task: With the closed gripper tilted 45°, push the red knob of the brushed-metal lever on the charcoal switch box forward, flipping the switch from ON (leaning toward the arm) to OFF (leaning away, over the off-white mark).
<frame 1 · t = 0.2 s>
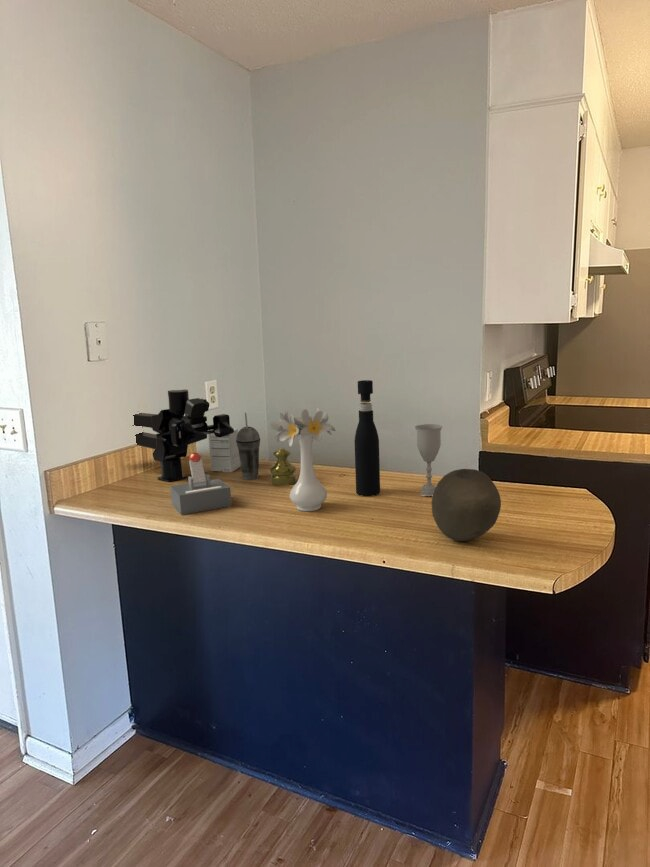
hand: (220, 433, 171), 17 cm above the countertop, tool horizontal, fingers open, 9 cm apart
dark brown ball: (465, 541, 131), on the countertop
flower vase: (305, 508, 157), on the countertop
beverage cup: (250, 478, 188), on the countertop
switch lever: (196, 467, 162), point 10 cm above the countertop, hinge at -25.0°
black bottle: (368, 493, 168), on the countertop
salt shaker: (283, 483, 182), on the countertop
switch box: (201, 505, 163), on the countertop
supplement box: (226, 469, 200), on the countertop
chalice: (429, 494, 164), on the countertop
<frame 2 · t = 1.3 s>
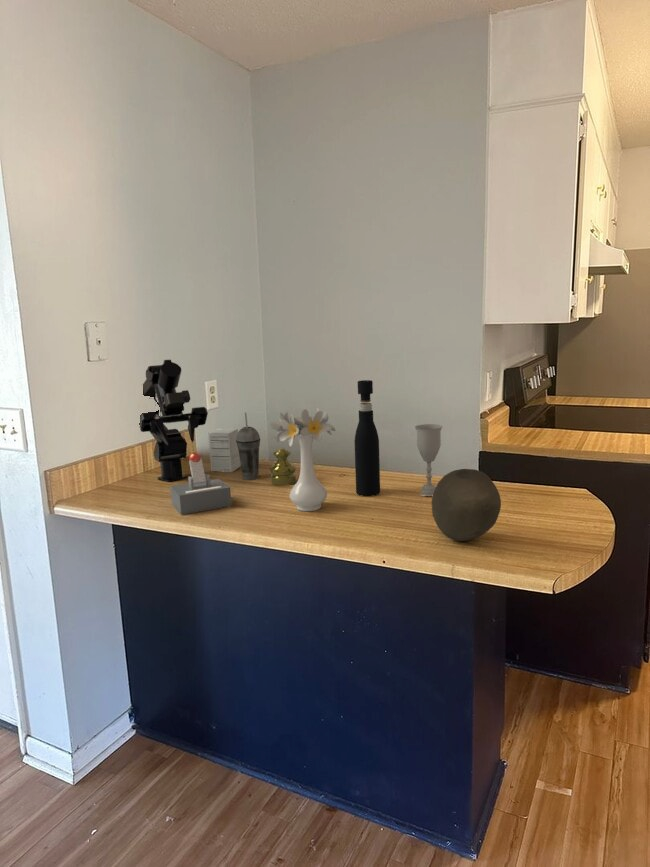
hand: (180, 442, 176), 14 cm above the countertop, tool tilted 45°, fingers open, 7 cm apart
nothing on the countertop moved.
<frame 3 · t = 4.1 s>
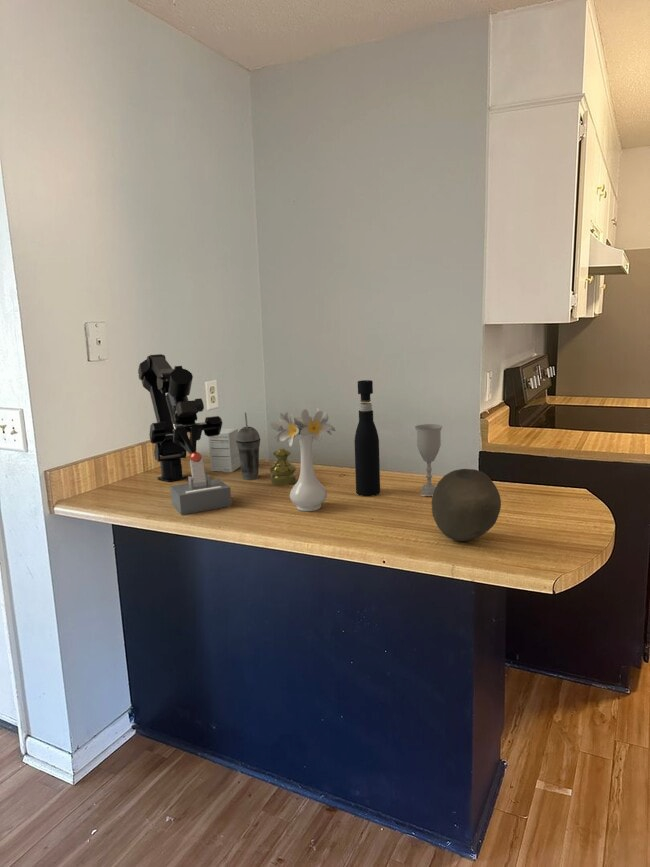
hand: (193, 454, 163), 13 cm above the countertop, tool tilted 45°, fingers closed, pressing on switch lever
switch lever: (197, 467, 162), point 10 cm above the countertop, hinge at -17.4°, touching gripper
everything else where it was.
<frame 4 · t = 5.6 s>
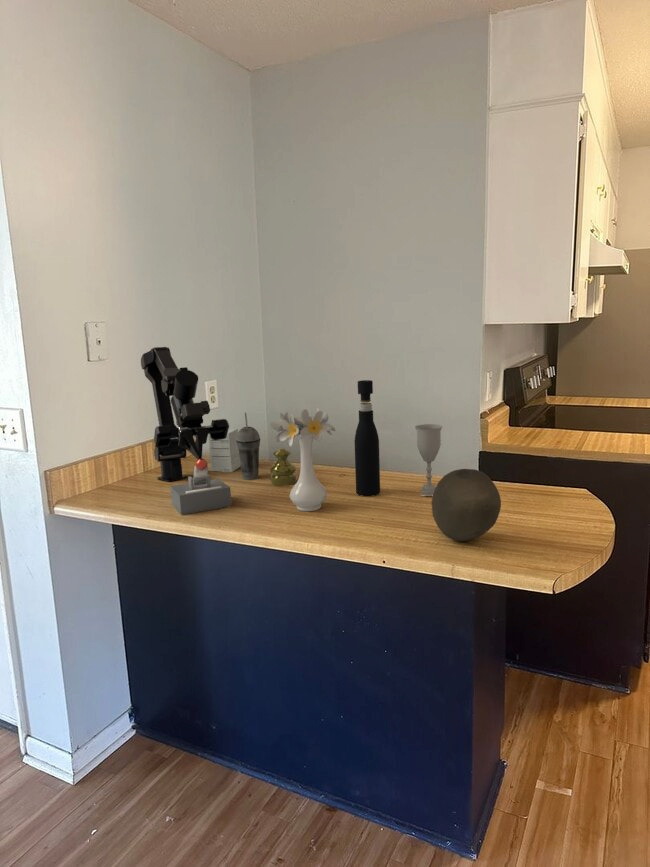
hand: (200, 458, 158), 13 cm above the countertop, tool tilted 45°, fingers closed, pressing on switch lever
switch lever: (200, 471, 159), point 10 cm above the countertop, hinge at 31.4°, touching gripper
everything else where it was.
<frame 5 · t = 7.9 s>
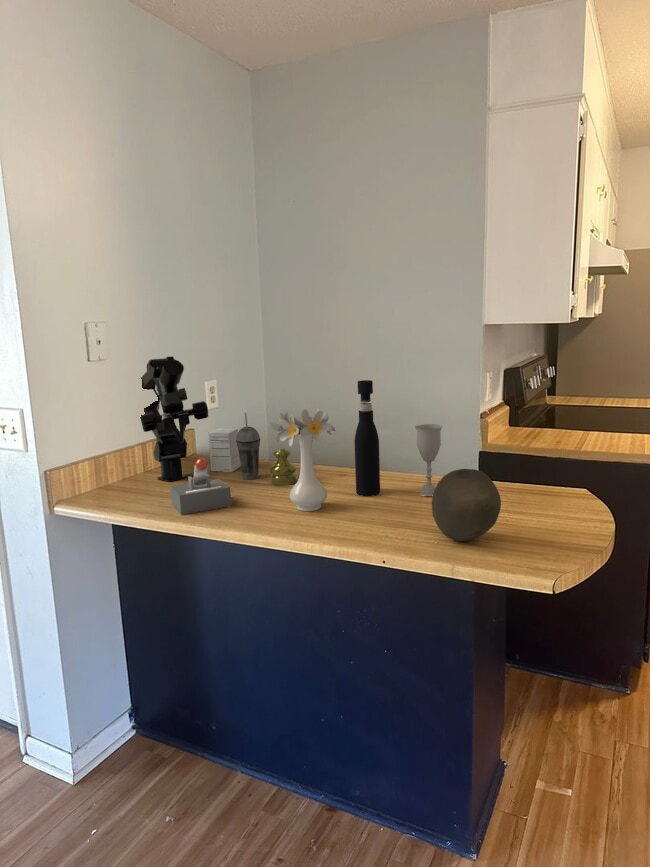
hand: (181, 442, 176), 14 cm above the countertop, tool tilted 40°, fingers closed
switch lever: (200, 471, 159), point 10 cm above the countertop, hinge at 31.4°
everything else where it was.
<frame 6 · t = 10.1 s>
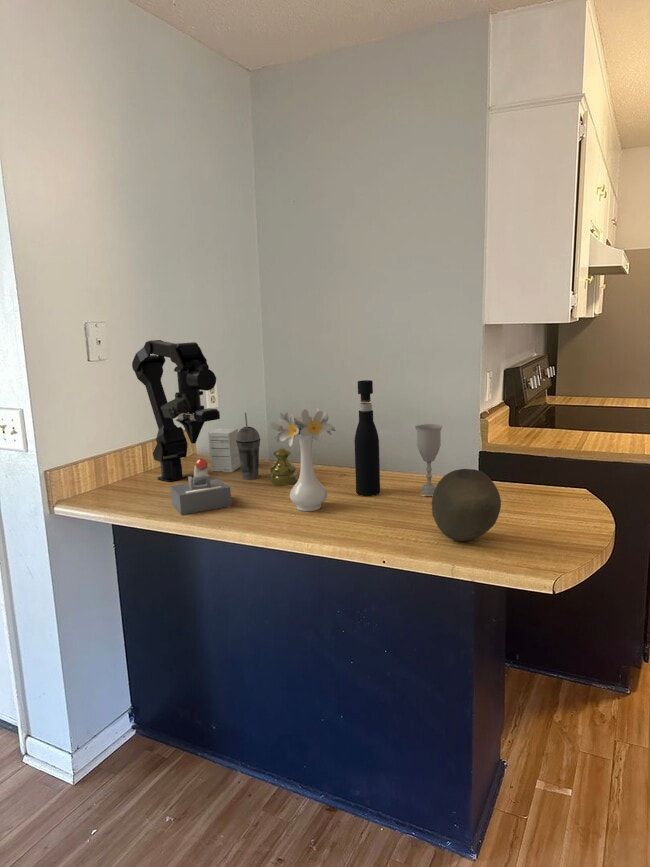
hand: (193, 443, 177), 13 cm above the countertop, tool pointing down, fingers closed
nothing on the countertop moved.
at the end: switch lever at +31° (first picture: -25°) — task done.
